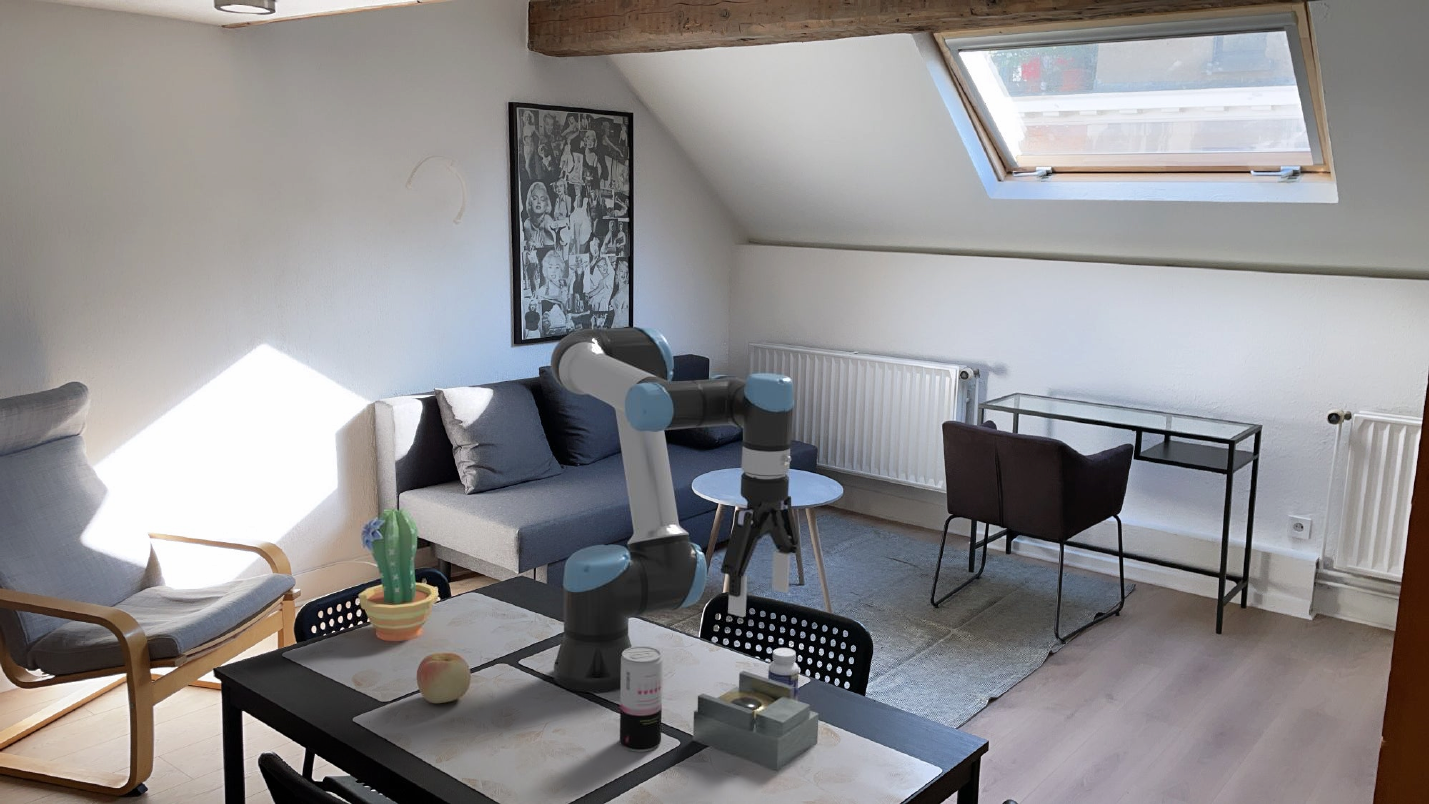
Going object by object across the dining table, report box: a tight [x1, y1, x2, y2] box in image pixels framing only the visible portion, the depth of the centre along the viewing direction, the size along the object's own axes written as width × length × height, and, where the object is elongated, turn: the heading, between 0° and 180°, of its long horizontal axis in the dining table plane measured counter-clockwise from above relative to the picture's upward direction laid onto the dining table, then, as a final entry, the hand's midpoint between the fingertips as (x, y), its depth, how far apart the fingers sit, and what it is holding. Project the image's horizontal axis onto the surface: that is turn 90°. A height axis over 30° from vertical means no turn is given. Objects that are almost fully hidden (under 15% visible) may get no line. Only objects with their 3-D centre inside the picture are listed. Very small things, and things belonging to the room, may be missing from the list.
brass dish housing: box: [692, 670, 819, 772], centre depth 176 cm, size 16×13×8 cm
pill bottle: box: [767, 647, 800, 701], centre depth 192 cm, size 5×5×9 cm
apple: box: [416, 652, 472, 704], centre depth 188 cm, size 9×9×8 cm
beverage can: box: [619, 645, 664, 753], centre depth 174 cm, size 6×6×15 cm
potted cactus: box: [358, 507, 440, 642], centre depth 217 cm, size 15×15×25 cm
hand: (759, 602), depth 176 cm, fingers open, 13 cm apart
